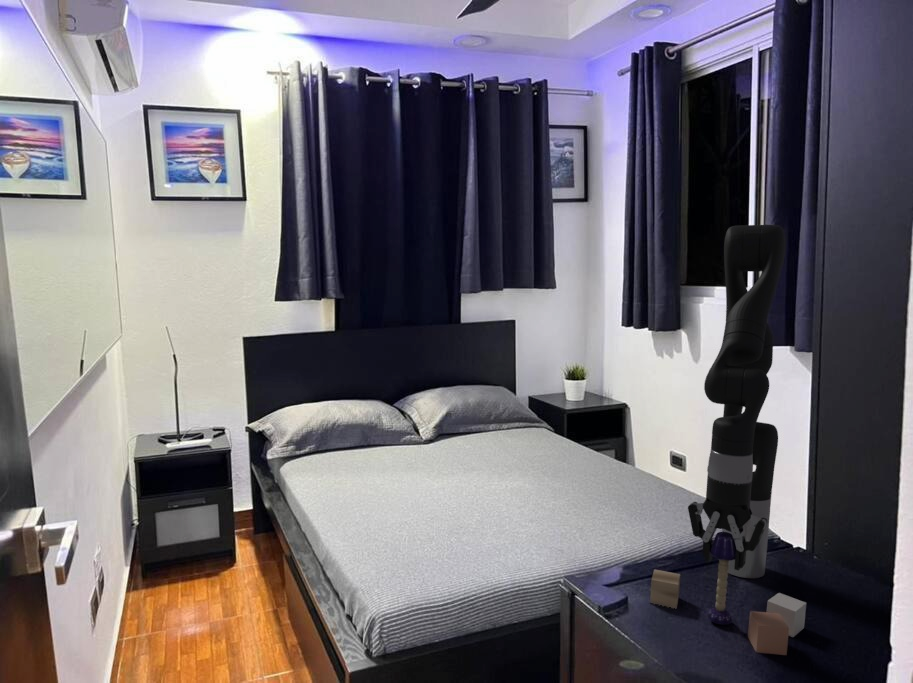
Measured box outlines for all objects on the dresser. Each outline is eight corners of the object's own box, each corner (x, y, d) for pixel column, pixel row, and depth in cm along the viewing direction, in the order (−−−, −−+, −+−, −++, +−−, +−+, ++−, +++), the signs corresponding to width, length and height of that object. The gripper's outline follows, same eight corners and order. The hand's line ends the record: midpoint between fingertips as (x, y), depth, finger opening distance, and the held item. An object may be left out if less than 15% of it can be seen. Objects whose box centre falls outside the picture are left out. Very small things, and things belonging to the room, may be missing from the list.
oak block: (652, 592, 139) (654, 569, 138) (678, 597, 137) (680, 574, 136) (649, 603, 134) (651, 579, 134) (676, 609, 132) (678, 584, 132)
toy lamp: (734, 627, 125) (741, 540, 122) (707, 624, 125) (714, 537, 123) (729, 614, 129) (736, 530, 127) (703, 611, 130) (709, 527, 128)
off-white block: (776, 617, 130) (778, 592, 130) (804, 628, 127) (806, 602, 126) (765, 626, 127) (767, 600, 126) (793, 637, 123) (795, 611, 123)
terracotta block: (747, 637, 123) (749, 610, 122) (776, 639, 122) (779, 613, 122) (756, 652, 118) (758, 625, 117) (786, 655, 117) (789, 628, 117)
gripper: (777, 478, 123) (769, 569, 125) (697, 462, 131) (691, 547, 133) (766, 489, 117) (758, 583, 119) (683, 471, 125) (677, 560, 127)
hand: (722, 564), depth 126 cm, fingers closed on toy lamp, 4 cm apart
